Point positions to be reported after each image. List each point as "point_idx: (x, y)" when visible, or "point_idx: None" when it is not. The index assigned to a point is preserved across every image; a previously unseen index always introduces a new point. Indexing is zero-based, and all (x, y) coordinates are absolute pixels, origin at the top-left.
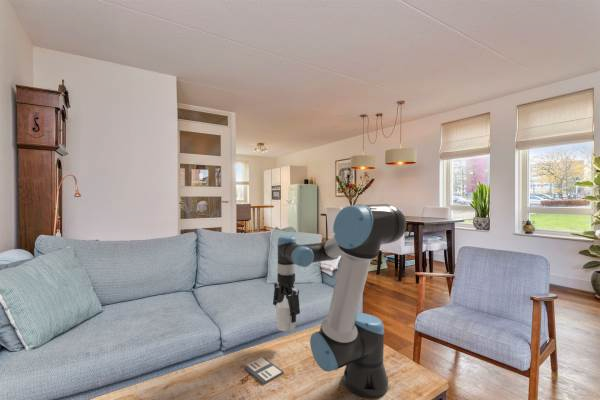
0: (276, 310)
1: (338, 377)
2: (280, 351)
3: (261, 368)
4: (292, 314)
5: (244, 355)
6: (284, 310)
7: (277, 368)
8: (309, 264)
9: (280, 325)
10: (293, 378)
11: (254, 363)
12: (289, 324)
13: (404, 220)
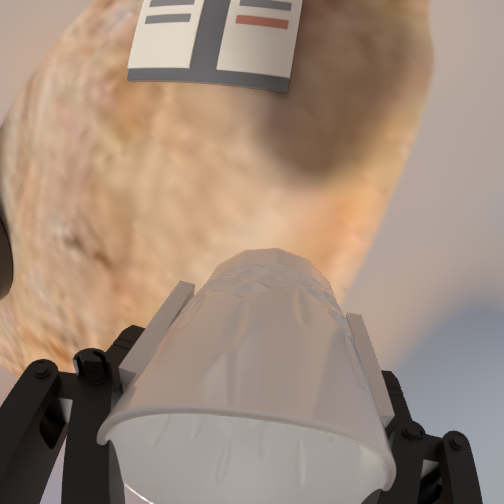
0: (341, 366)
1: (11, 217)
2: (268, 206)
3: (225, 21)
4: (78, 369)
5: (396, 66)
6: (141, 386)
7: (161, 72)
8: None
9: (257, 264)
10: (87, 94)
11: (280, 19)
12: (174, 308)
13: None
